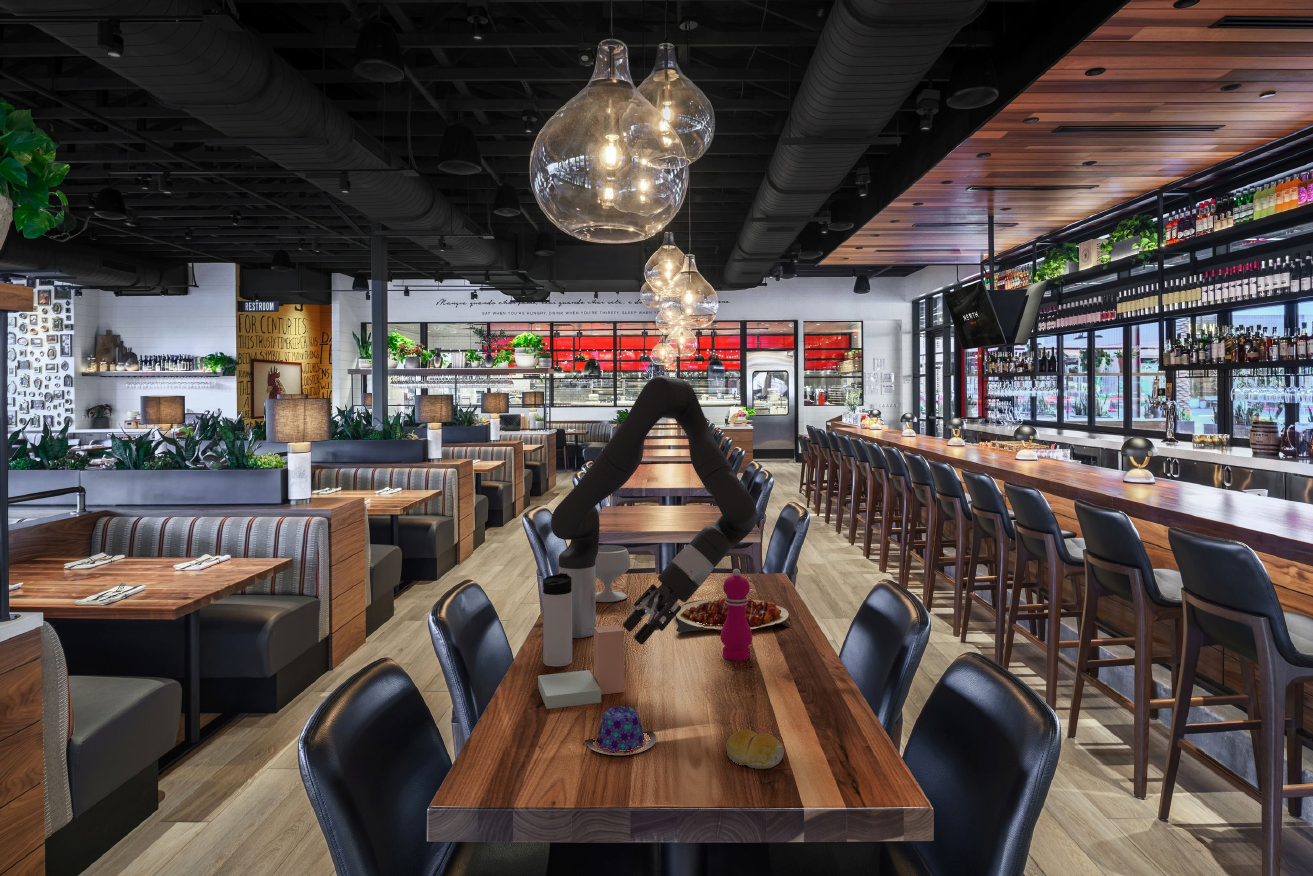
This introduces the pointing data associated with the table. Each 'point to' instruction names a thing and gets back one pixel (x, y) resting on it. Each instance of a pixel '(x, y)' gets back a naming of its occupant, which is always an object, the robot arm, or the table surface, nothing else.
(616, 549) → the chalice
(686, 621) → the plate of glazed chicken
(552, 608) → the travel mug
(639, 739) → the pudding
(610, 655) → the stub
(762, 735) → the bread roll
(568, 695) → the ticket board
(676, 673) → the table surface
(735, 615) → the pepper mill
